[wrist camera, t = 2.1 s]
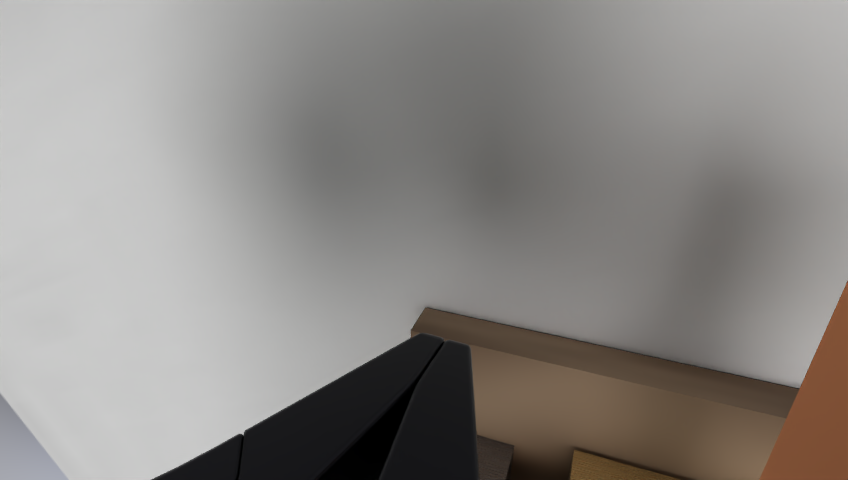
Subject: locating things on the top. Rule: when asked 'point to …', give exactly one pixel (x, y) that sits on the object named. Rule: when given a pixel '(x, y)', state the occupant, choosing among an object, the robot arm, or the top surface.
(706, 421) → the valve base
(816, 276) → the top surface
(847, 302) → the lever
